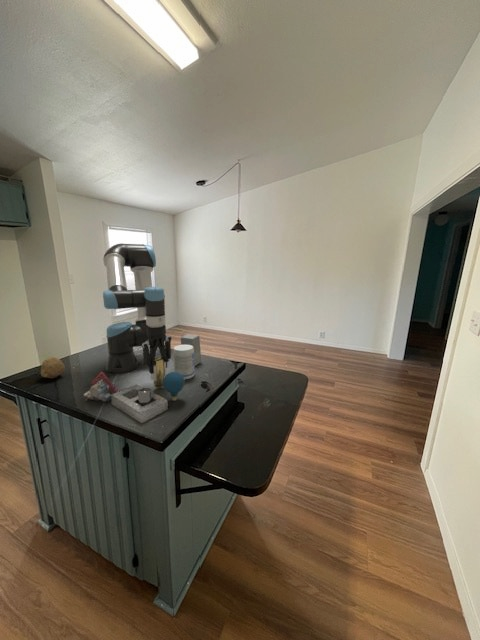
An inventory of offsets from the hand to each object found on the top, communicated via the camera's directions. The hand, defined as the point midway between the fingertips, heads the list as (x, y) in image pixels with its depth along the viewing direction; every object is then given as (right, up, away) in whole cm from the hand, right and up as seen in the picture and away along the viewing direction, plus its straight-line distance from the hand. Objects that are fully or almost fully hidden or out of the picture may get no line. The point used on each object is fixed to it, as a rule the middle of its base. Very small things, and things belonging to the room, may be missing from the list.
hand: (158, 377), depth 109 cm
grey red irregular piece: (-20, -7, -7) cm, 23 cm away
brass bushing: (0, -4, +1) cm, 4 cm away
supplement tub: (+8, -3, +15) cm, 17 cm away
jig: (-4, -8, -12) cm, 15 cm away
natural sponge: (-52, -3, +10) cm, 53 cm away
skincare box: (+8, +1, +30) cm, 31 cm away
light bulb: (+9, -8, -7) cm, 14 cm away
